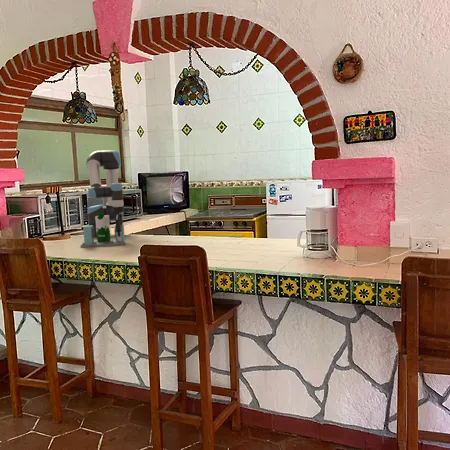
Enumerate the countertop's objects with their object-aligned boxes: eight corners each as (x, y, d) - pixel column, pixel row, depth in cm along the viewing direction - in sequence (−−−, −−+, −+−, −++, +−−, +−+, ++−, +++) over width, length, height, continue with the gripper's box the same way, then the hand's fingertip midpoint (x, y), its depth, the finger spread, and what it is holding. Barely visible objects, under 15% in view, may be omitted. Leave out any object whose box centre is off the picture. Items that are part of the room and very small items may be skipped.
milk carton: (95, 242, 335) (93, 213, 332) (100, 240, 344) (98, 212, 341) (108, 241, 334) (105, 213, 332) (112, 239, 343) (110, 212, 341)
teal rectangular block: (86, 243, 320) (85, 225, 319) (95, 243, 320) (93, 225, 319) (84, 244, 315) (83, 226, 314) (93, 244, 315) (91, 226, 314)
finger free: (116, 242, 329) (115, 225, 327) (125, 242, 329) (123, 224, 327) (115, 243, 324) (114, 226, 322) (123, 243, 324) (122, 225, 322)
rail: (83, 245, 321) (83, 241, 321) (125, 243, 322) (125, 239, 322) (80, 247, 314) (80, 243, 314) (123, 245, 315) (123, 241, 315)
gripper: (115, 205, 332) (117, 238, 335) (109, 207, 314) (112, 242, 317) (125, 205, 332) (128, 238, 335) (121, 207, 314) (123, 242, 317)
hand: (120, 240), depth 326 cm, fingers closed on finger free, 5 cm apart
